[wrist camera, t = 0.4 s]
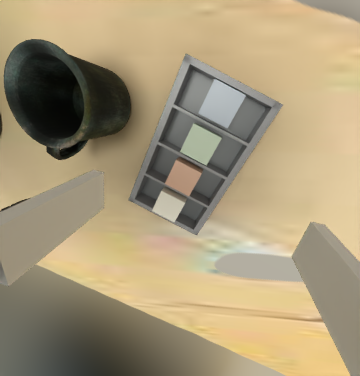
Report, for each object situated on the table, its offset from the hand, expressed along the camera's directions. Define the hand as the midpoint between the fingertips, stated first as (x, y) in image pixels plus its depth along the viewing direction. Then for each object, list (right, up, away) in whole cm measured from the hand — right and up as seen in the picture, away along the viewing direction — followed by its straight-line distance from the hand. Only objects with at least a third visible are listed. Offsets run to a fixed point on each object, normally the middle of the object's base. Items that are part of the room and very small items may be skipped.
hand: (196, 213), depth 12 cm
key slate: (+5, +13, +14) cm, 20 cm away
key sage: (+2, +9, +16) cm, 19 cm away
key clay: (0, +4, +19) cm, 19 cm away
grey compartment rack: (+2, +7, +20) cm, 21 cm away
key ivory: (-3, -1, +21) cm, 21 cm away
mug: (-15, +15, +21) cm, 29 cm away
